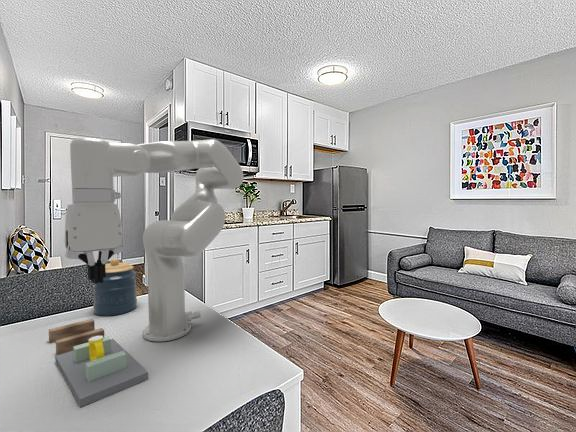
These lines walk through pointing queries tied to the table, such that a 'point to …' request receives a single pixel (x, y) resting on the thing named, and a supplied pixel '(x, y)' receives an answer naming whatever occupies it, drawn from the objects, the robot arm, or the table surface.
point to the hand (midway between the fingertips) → (97, 281)
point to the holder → (73, 335)
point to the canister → (115, 290)
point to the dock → (100, 383)
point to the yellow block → (96, 348)
